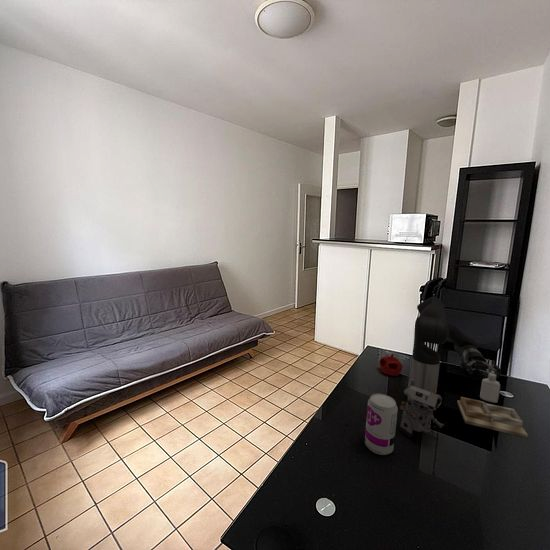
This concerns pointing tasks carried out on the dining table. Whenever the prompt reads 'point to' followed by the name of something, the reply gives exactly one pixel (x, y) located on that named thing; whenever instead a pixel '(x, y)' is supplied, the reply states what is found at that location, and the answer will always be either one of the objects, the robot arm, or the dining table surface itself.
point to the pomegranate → (390, 365)
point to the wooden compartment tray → (491, 416)
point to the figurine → (419, 410)
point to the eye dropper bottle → (490, 388)
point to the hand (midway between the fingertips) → (484, 374)
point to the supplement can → (381, 424)
